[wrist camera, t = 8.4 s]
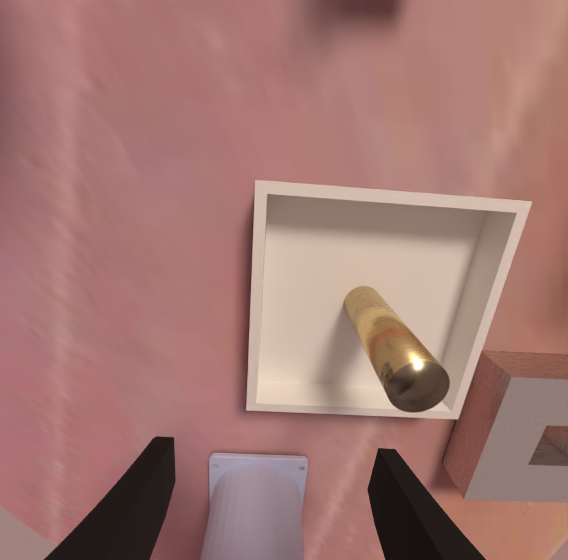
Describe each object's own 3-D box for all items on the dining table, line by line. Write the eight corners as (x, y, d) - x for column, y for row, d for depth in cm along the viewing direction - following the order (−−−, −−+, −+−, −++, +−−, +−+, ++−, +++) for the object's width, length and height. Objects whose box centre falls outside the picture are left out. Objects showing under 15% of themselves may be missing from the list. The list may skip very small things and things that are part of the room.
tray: (434, 388, 22) (458, 419, 19) (250, 379, 21) (246, 410, 19) (490, 198, 17) (532, 201, 15) (259, 180, 17) (255, 180, 14)
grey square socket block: (565, 467, 25) (602, 503, 22) (442, 462, 25) (463, 499, 22) (623, 357, 21) (676, 385, 19) (479, 350, 21) (511, 377, 18)
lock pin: (379, 319, 19) (444, 411, 12) (342, 320, 19) (384, 413, 12) (382, 285, 18) (454, 360, 11) (344, 286, 18) (390, 361, 11)
